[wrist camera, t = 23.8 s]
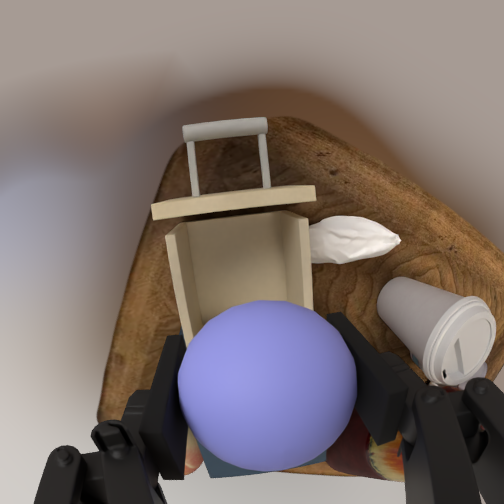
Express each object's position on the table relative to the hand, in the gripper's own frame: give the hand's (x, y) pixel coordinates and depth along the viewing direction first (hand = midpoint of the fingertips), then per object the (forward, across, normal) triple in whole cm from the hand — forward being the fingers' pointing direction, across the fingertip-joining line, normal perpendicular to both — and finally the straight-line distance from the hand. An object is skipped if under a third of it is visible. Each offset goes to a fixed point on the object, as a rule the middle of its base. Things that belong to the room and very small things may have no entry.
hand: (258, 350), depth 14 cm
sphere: (0, 0, 0) cm, 0 cm away
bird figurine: (+19, +11, +1) cm, 22 cm away
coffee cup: (+19, +20, -8) cm, 29 cm away
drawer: (+18, 0, +2) cm, 18 cm away
